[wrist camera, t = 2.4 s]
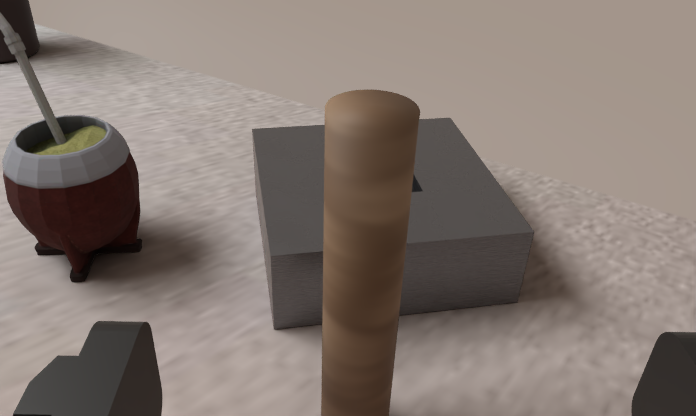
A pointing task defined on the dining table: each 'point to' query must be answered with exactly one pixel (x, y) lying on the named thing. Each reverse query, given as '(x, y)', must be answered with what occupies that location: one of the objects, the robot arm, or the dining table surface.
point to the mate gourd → (71, 180)
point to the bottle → (18, 27)
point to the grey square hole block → (423, 228)
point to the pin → (364, 245)
